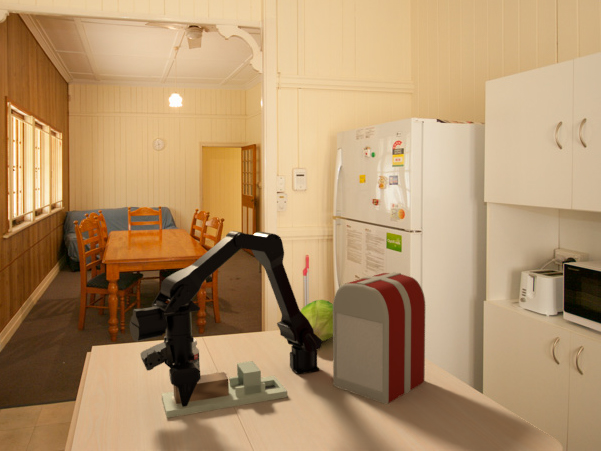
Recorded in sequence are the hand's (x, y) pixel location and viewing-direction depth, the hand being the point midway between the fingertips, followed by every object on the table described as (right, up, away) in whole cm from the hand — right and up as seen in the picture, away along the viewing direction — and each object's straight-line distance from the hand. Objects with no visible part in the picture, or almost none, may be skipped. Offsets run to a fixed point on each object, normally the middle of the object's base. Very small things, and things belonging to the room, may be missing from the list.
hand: (181, 397), depth 123 cm
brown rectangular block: (+4, 0, +2) cm, 5 cm away
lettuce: (+33, +3, +44) cm, 55 cm away
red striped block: (+47, 0, +11) cm, 48 cm away
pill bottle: (-2, 0, +16) cm, 17 cm away
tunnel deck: (+9, -1, +4) cm, 10 cm away
